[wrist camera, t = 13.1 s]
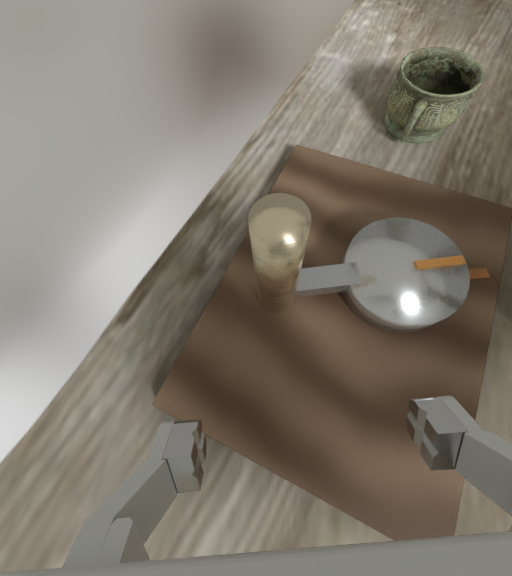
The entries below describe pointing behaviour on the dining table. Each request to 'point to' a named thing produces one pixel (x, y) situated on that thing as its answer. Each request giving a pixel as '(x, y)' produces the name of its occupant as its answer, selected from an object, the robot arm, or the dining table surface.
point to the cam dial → (359, 267)
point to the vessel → (430, 93)
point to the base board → (344, 355)
